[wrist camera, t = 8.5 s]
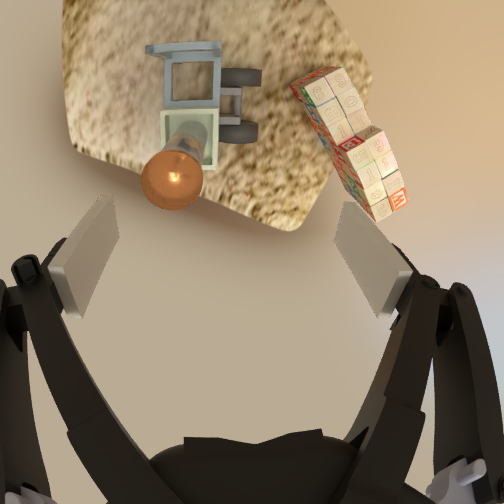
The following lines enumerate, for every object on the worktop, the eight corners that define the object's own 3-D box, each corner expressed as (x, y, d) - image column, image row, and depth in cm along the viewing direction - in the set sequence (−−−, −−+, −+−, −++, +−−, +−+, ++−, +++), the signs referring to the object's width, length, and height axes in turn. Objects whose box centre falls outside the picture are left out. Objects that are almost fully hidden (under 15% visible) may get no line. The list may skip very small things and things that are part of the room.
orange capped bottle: (173, 118, 32) (138, 153, 18) (210, 117, 33) (202, 150, 19) (174, 153, 35) (144, 210, 21) (210, 152, 35) (203, 209, 22)
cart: (173, 56, 33) (144, 44, 19) (259, 56, 35) (283, 44, 21) (173, 150, 42) (149, 192, 28) (254, 149, 43) (272, 190, 29)
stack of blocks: (286, 84, 38) (310, 87, 28) (320, 66, 36) (354, 65, 26) (345, 190, 49) (376, 224, 39) (374, 174, 47) (410, 203, 37)
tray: (164, 107, 32) (159, 110, 29) (218, 106, 32) (218, 108, 30) (166, 163, 36) (162, 171, 33) (217, 162, 37) (217, 169, 34)
